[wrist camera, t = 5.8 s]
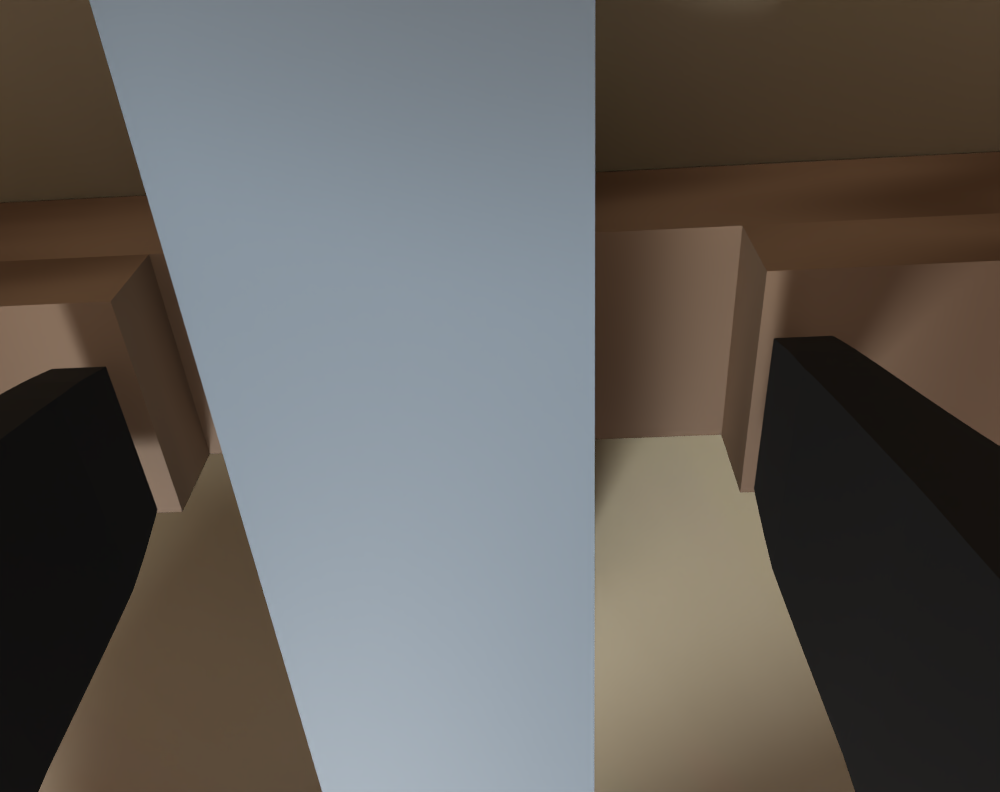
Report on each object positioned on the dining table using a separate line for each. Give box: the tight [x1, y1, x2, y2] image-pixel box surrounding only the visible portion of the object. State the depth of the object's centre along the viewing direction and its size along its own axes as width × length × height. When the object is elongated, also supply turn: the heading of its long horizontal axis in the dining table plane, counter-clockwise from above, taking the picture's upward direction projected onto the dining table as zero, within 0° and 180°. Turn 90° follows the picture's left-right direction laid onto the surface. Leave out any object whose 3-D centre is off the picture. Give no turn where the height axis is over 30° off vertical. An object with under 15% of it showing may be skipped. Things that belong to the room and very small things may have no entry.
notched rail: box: [0, 152, 1000, 513], centre depth 12 cm, size 20×3×3 cm, turn 93°
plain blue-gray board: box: [89, 0, 595, 792], centre depth 11 cm, size 3×12×6 cm, turn 3°
